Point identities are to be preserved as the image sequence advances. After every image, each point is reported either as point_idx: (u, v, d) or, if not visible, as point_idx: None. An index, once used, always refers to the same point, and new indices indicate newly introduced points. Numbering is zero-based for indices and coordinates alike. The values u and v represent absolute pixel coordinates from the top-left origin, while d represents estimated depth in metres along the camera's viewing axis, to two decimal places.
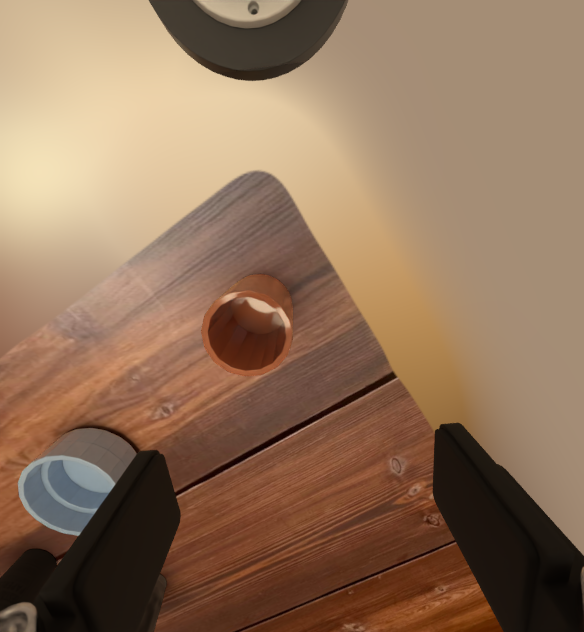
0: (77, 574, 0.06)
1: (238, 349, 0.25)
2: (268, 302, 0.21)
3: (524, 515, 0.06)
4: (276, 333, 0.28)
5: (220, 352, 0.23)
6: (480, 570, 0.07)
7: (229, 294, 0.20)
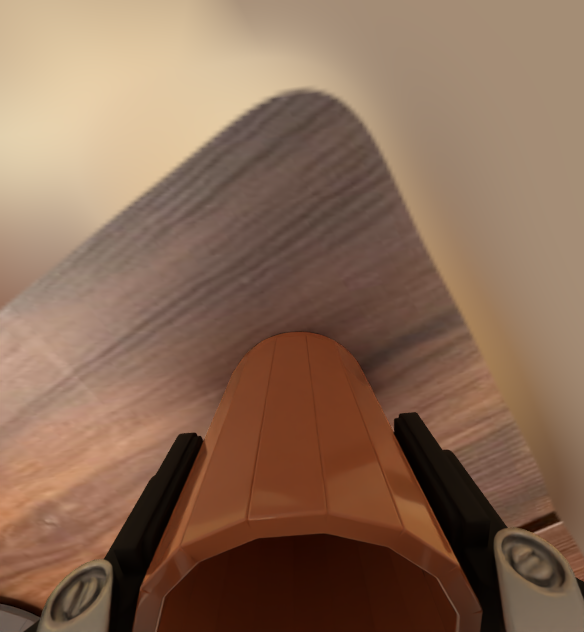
0: (144, 535, 0.07)
1: (259, 551, 0.10)
2: (407, 552, 0.05)
3: (455, 490, 0.07)
4: None
5: None
6: None
7: (241, 525, 0.05)
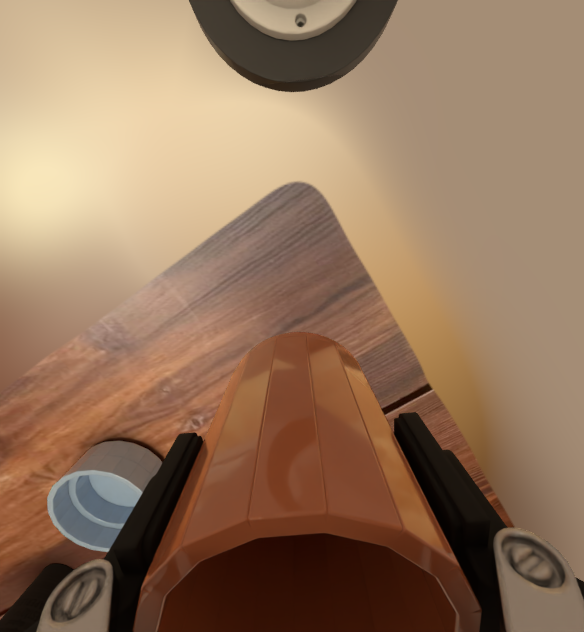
0: (144, 535, 0.07)
1: (259, 551, 0.10)
2: (406, 552, 0.05)
3: (454, 490, 0.07)
4: None
5: None
6: None
7: (242, 524, 0.05)
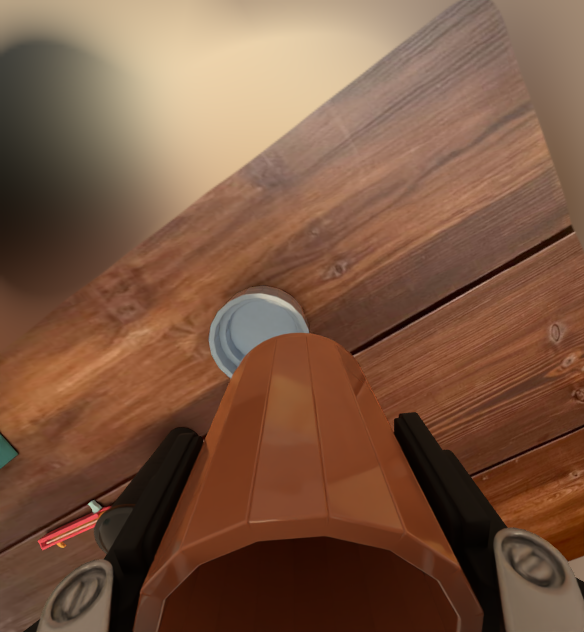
0: (144, 535, 0.07)
1: (259, 552, 0.10)
2: (408, 555, 0.05)
3: (454, 490, 0.07)
4: None
5: None
6: None
7: (242, 527, 0.05)
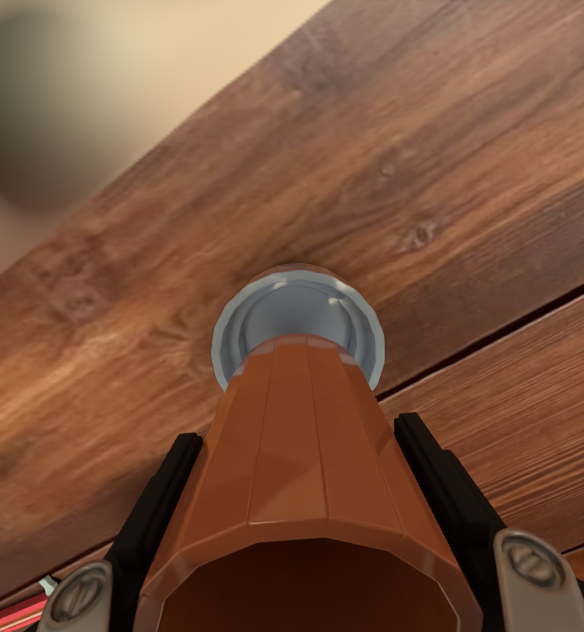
0: (144, 535, 0.07)
1: (259, 553, 0.10)
2: (407, 556, 0.05)
3: (454, 490, 0.07)
4: None
5: None
6: None
7: (241, 529, 0.05)
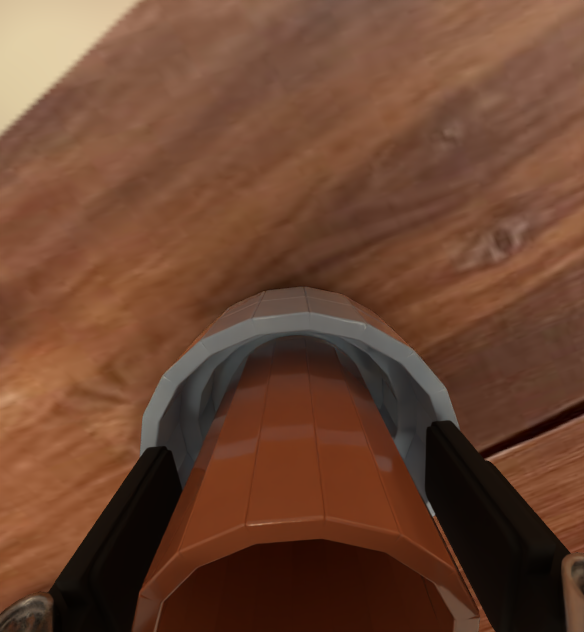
0: (92, 565, 0.06)
1: (258, 555, 0.10)
2: (404, 557, 0.05)
3: (509, 509, 0.06)
4: None
5: None
6: (468, 563, 0.07)
7: (240, 530, 0.05)
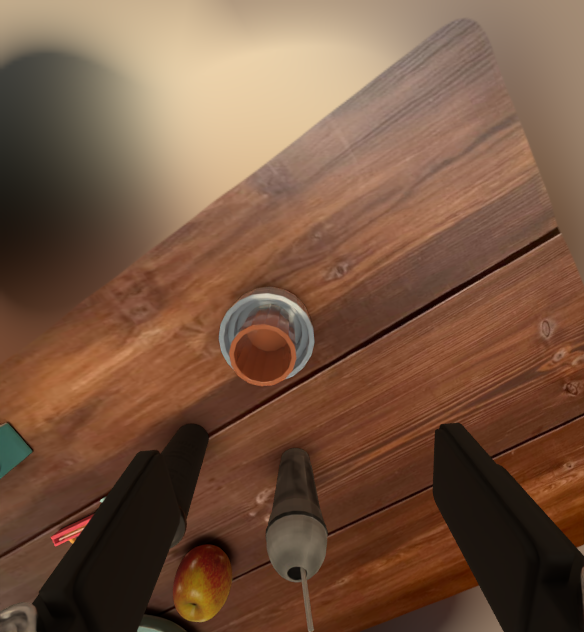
0: (77, 574, 0.06)
1: (254, 364, 0.33)
2: (278, 332, 0.28)
3: (524, 515, 0.06)
4: (282, 351, 0.36)
5: (242, 368, 0.30)
6: (480, 570, 0.07)
7: (250, 327, 0.28)
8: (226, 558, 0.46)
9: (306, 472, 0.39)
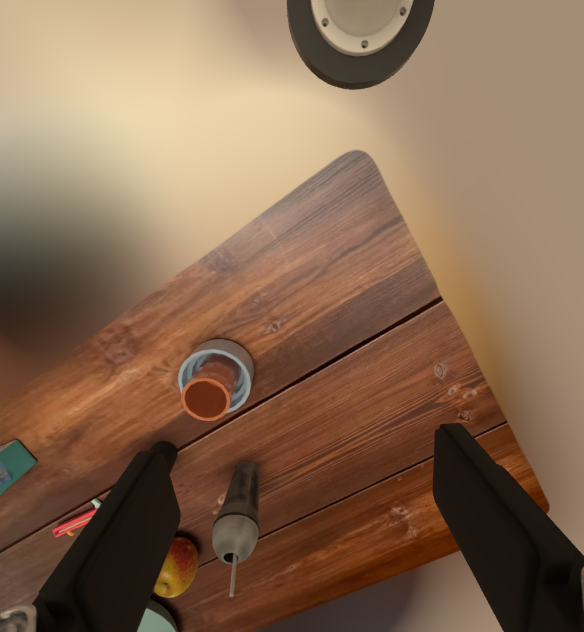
0: (77, 574, 0.06)
1: (204, 402, 0.43)
2: (216, 383, 0.39)
3: (524, 515, 0.06)
4: None
5: (192, 407, 0.41)
6: (480, 570, 0.07)
7: (195, 379, 0.39)
8: (194, 548, 0.57)
9: (251, 481, 0.49)
